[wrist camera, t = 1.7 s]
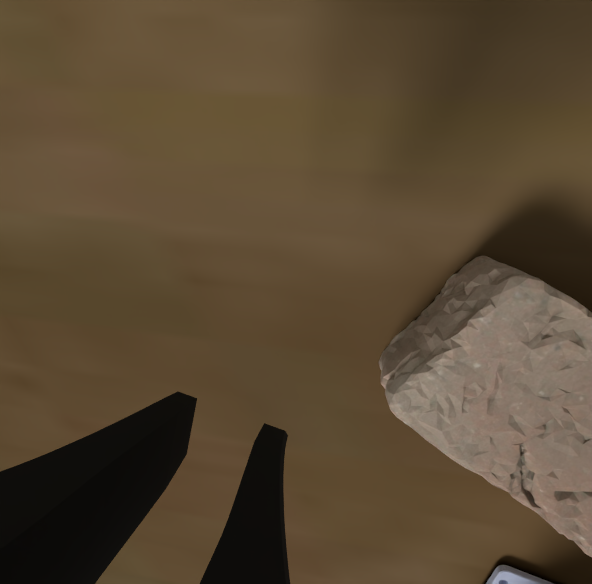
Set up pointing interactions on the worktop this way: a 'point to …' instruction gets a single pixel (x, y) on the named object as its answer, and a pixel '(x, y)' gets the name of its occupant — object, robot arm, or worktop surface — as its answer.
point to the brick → (504, 388)
